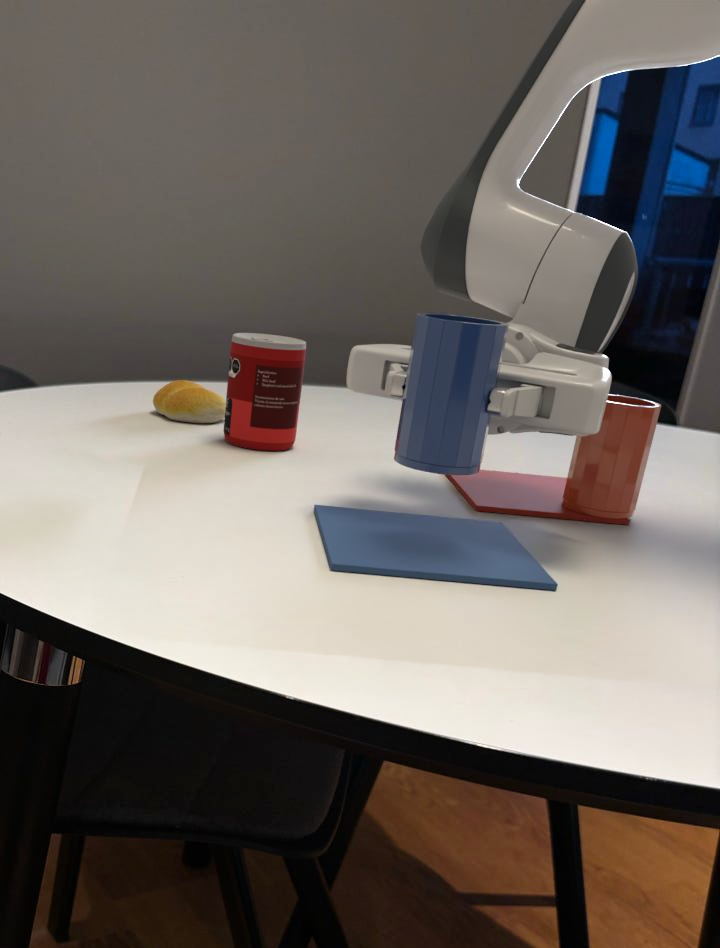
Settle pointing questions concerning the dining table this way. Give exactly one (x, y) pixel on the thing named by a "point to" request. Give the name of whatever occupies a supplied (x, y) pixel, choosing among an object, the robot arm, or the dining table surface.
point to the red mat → (520, 495)
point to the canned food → (264, 391)
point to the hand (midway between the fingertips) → (446, 394)
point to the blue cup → (449, 393)
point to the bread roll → (189, 403)
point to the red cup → (612, 460)
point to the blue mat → (427, 548)
